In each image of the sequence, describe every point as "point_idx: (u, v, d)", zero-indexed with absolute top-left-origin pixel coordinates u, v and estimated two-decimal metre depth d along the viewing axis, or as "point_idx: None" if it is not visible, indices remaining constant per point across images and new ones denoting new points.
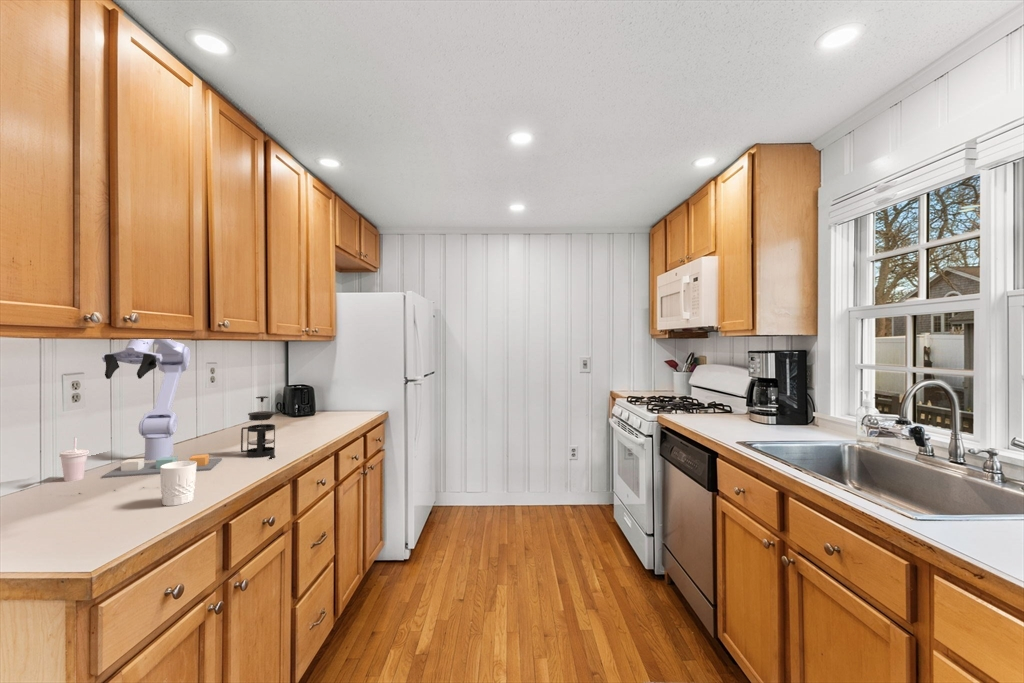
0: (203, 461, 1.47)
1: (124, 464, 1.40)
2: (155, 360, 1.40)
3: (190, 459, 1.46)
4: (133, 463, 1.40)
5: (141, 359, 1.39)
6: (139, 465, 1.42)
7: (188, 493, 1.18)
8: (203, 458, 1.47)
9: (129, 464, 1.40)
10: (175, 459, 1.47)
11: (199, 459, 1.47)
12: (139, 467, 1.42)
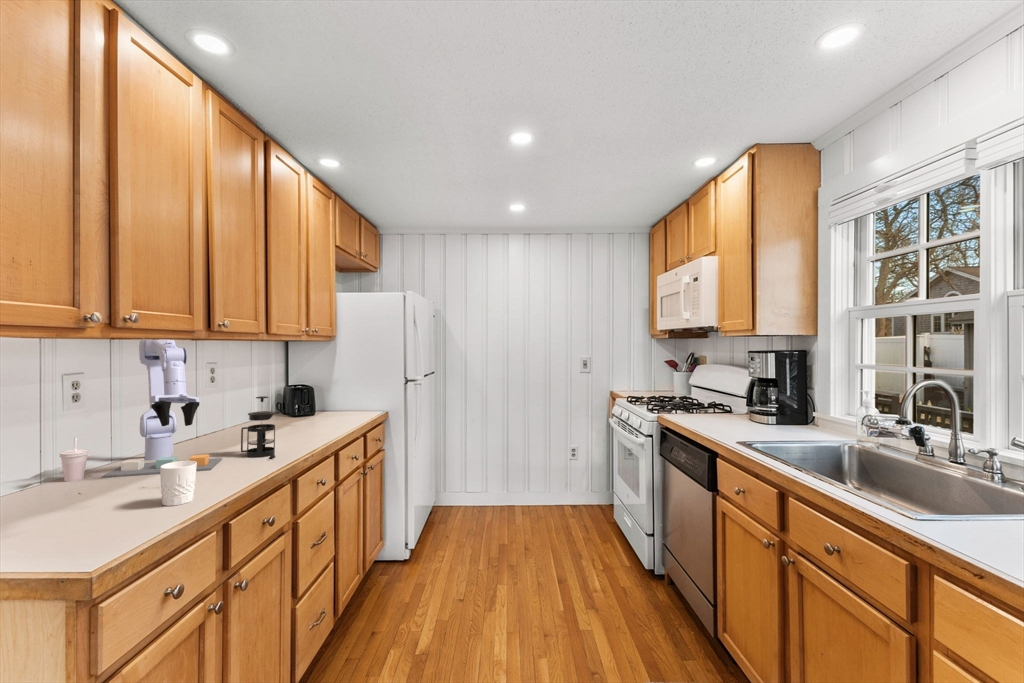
0: (203, 461, 1.47)
1: (124, 464, 1.40)
2: None
3: (190, 459, 1.46)
4: (133, 463, 1.40)
5: (183, 402, 1.44)
6: (139, 465, 1.42)
7: (188, 493, 1.18)
8: (203, 458, 1.47)
9: (129, 464, 1.40)
10: (175, 459, 1.47)
11: (199, 459, 1.47)
12: (139, 467, 1.42)
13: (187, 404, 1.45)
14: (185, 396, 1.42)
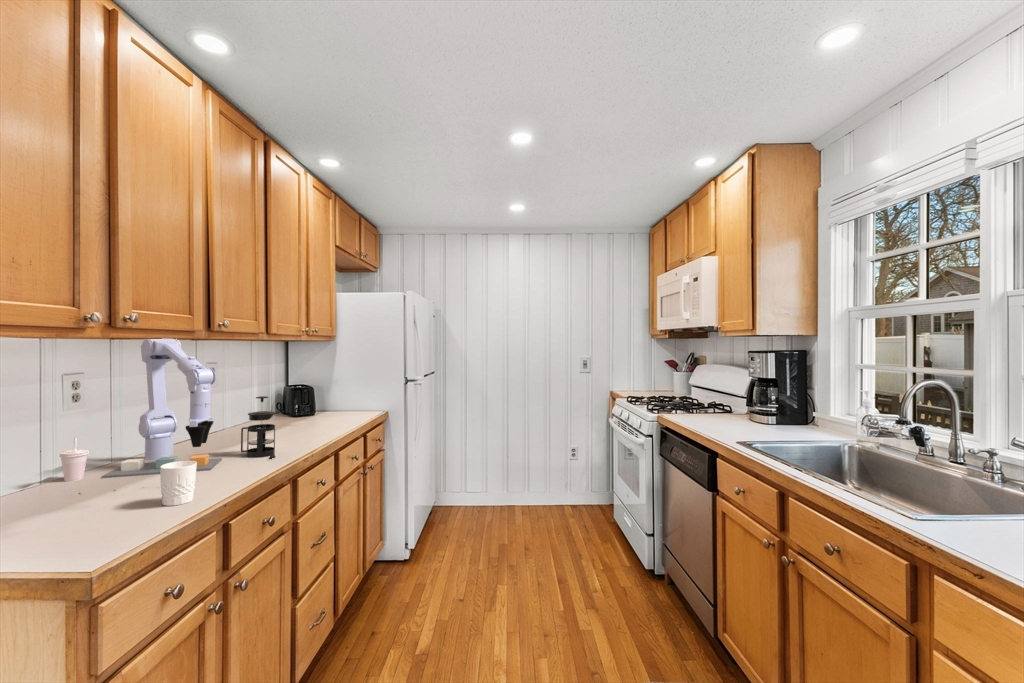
0: (203, 461, 1.47)
1: (124, 464, 1.40)
2: None
3: (190, 459, 1.46)
4: (133, 463, 1.40)
5: (202, 421, 1.51)
6: (139, 465, 1.42)
7: (188, 493, 1.18)
8: (203, 458, 1.47)
9: (129, 464, 1.40)
10: (175, 459, 1.47)
11: (199, 459, 1.47)
12: (139, 467, 1.42)
13: (202, 423, 1.51)
14: (212, 418, 1.50)
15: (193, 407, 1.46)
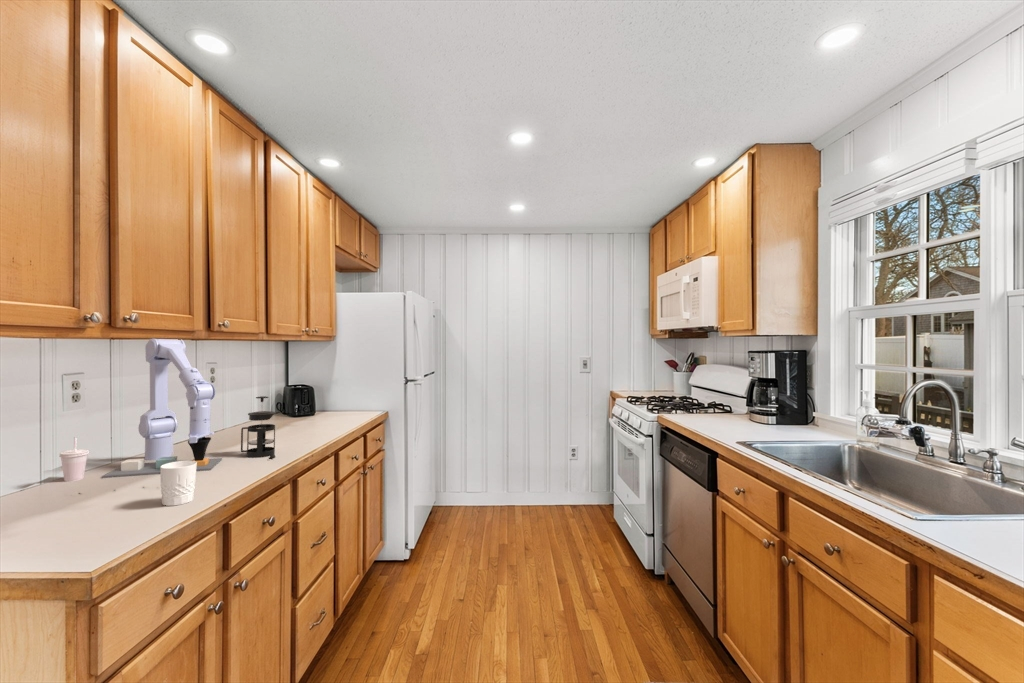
0: (203, 465, 1.47)
1: (124, 464, 1.40)
2: None
3: None
4: (133, 463, 1.40)
5: None
6: (139, 465, 1.42)
7: (188, 493, 1.18)
8: (203, 462, 1.47)
9: (129, 464, 1.40)
10: (175, 459, 1.47)
11: (199, 463, 1.47)
12: (139, 467, 1.42)
13: None
14: None
15: (193, 423, 1.46)
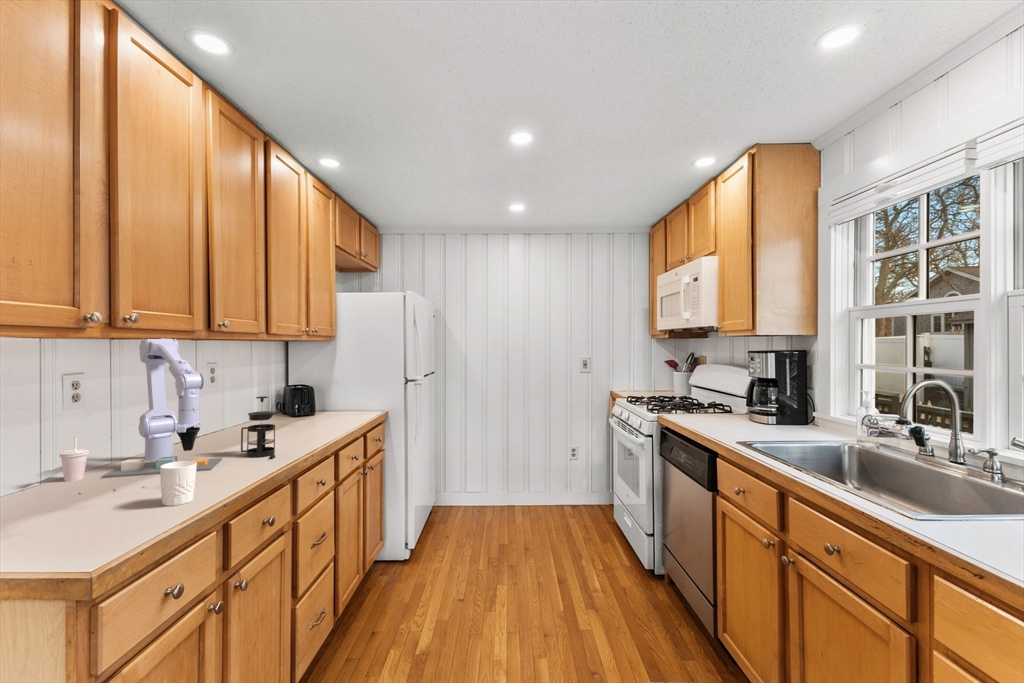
0: (203, 465, 1.47)
1: (124, 464, 1.40)
2: None
3: None
4: (133, 463, 1.40)
5: (191, 426, 1.50)
6: (139, 465, 1.42)
7: (188, 493, 1.18)
8: (203, 462, 1.47)
9: (129, 464, 1.40)
10: (175, 459, 1.47)
11: (199, 463, 1.47)
12: (139, 467, 1.42)
13: None
14: (201, 423, 1.49)
15: (181, 412, 1.45)
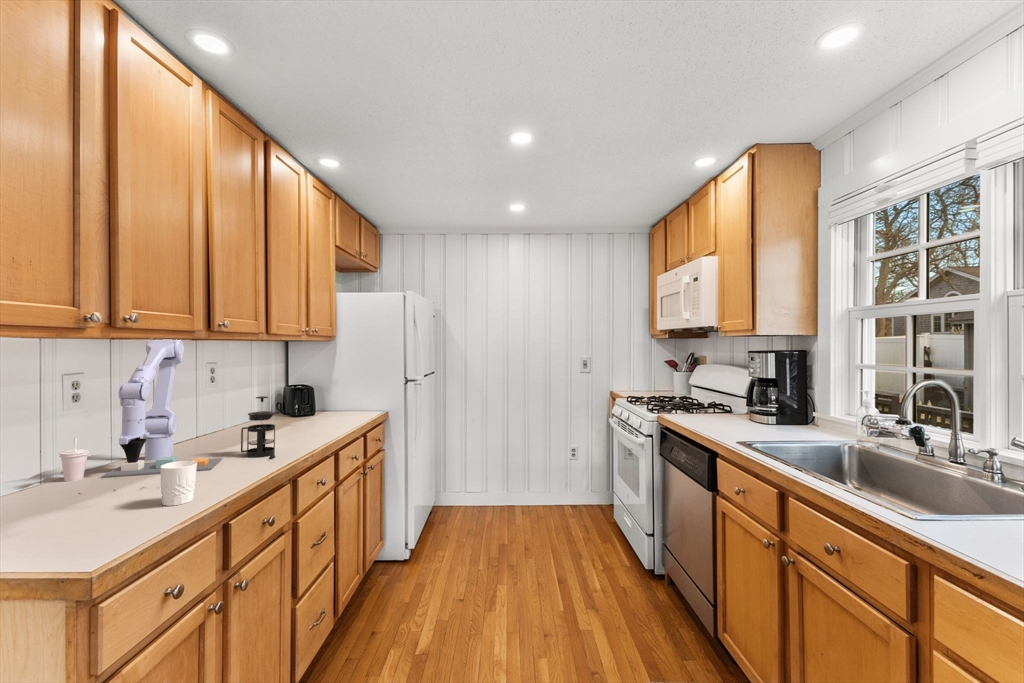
0: (203, 465, 1.47)
1: (123, 466, 1.40)
2: None
3: None
4: (133, 465, 1.40)
5: (137, 437, 1.45)
6: (139, 467, 1.42)
7: (188, 493, 1.18)
8: (203, 462, 1.47)
9: (129, 466, 1.40)
10: (175, 459, 1.47)
11: (199, 463, 1.47)
12: (139, 469, 1.42)
13: None
14: (146, 434, 1.44)
15: (125, 423, 1.39)
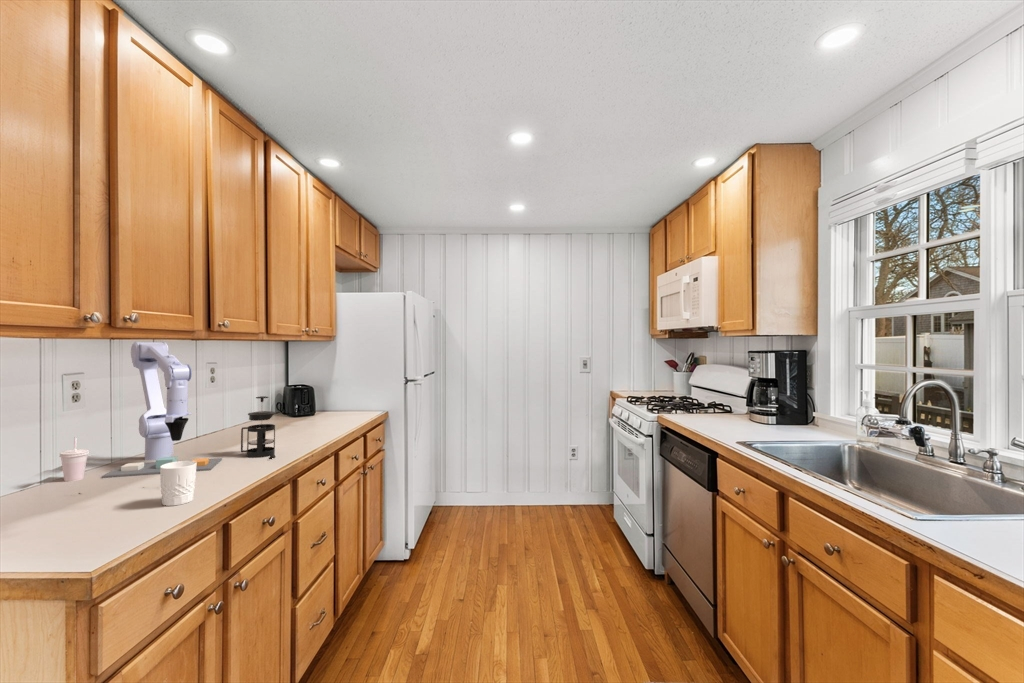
0: (203, 465, 1.47)
1: (123, 468, 1.40)
2: None
3: None
4: (133, 467, 1.40)
5: None
6: (139, 469, 1.42)
7: (188, 493, 1.18)
8: (203, 462, 1.47)
9: (129, 468, 1.40)
10: (175, 459, 1.47)
11: (199, 463, 1.47)
12: None
13: None
14: (189, 414, 1.52)
15: (169, 403, 1.48)
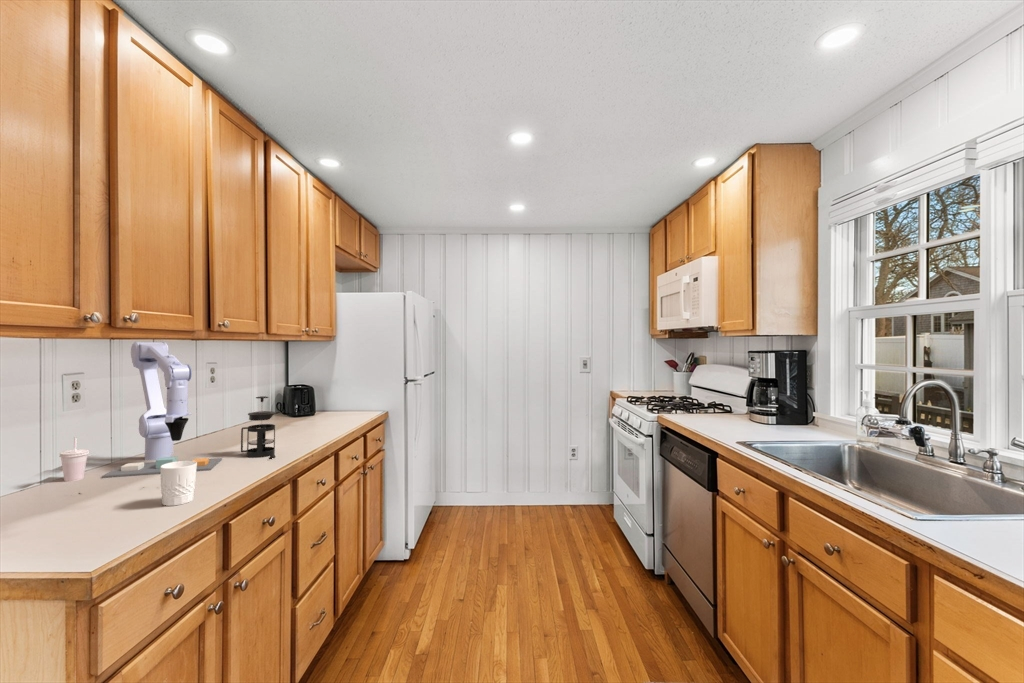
0: (203, 465, 1.47)
1: (123, 468, 1.40)
2: None
3: None
4: (133, 467, 1.40)
5: None
6: (139, 469, 1.42)
7: (188, 493, 1.18)
8: (203, 462, 1.47)
9: (129, 468, 1.40)
10: (175, 459, 1.47)
11: (199, 463, 1.47)
12: None
13: None
14: (189, 414, 1.52)
15: (169, 403, 1.48)
